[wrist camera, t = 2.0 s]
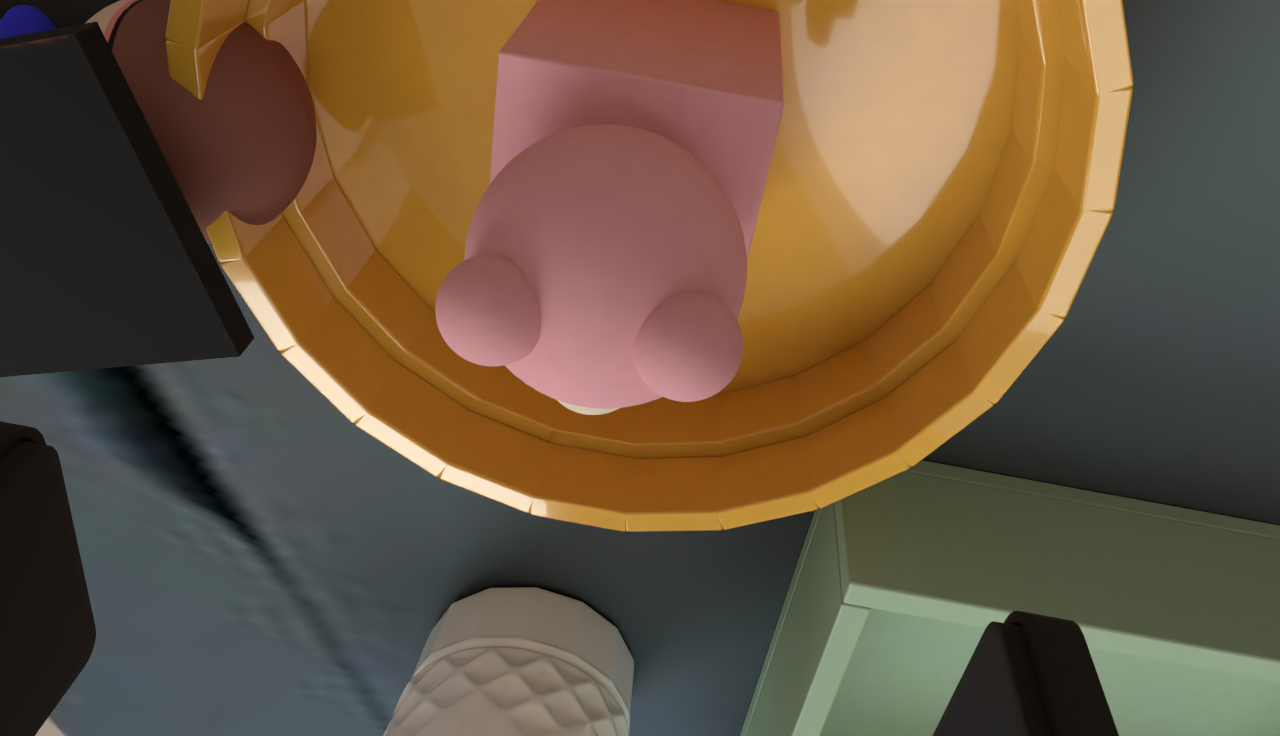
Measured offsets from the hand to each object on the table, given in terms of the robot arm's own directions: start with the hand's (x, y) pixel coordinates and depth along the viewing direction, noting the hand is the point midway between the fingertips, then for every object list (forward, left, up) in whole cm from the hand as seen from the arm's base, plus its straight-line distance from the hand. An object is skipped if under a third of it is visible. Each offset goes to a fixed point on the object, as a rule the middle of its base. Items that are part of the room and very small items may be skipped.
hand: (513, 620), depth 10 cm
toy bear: (0, 0, -14) cm, 14 cm away
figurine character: (+3, -14, -15) cm, 20 cm away
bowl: (0, 0, -15) cm, 15 cm away
